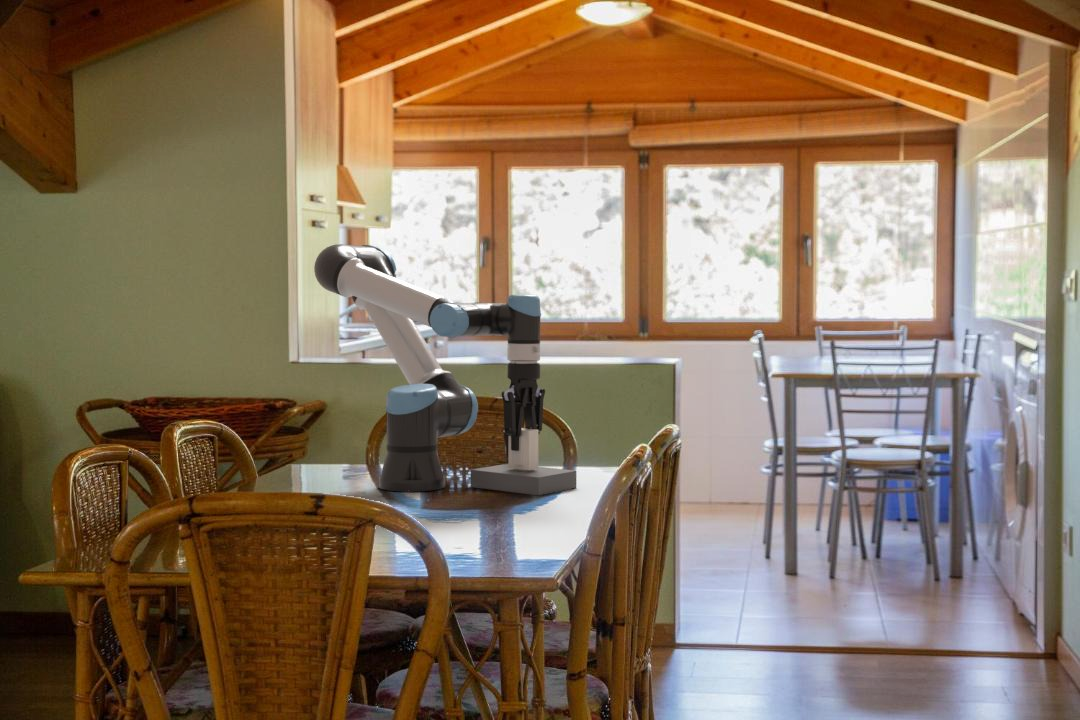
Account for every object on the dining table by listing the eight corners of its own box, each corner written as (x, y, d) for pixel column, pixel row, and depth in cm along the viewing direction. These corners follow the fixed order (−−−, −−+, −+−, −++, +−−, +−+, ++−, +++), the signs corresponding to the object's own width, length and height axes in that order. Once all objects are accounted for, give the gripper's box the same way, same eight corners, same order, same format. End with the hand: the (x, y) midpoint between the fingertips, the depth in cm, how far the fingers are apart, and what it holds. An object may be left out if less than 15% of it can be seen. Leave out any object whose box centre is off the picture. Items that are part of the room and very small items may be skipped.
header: (470, 486, 300) (470, 469, 300) (509, 480, 311) (509, 463, 311) (538, 495, 288) (538, 477, 287) (576, 488, 299) (576, 470, 298)
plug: (508, 483, 300) (508, 429, 299) (517, 482, 302) (518, 427, 302) (528, 486, 296) (528, 430, 295) (538, 484, 299) (538, 429, 298)
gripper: (513, 364, 289) (513, 469, 290) (558, 361, 302) (558, 461, 303) (487, 362, 293) (487, 466, 295) (533, 360, 307) (532, 458, 308)
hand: (523, 463), depth 299 cm, fingers closed on plug, 3 cm apart
